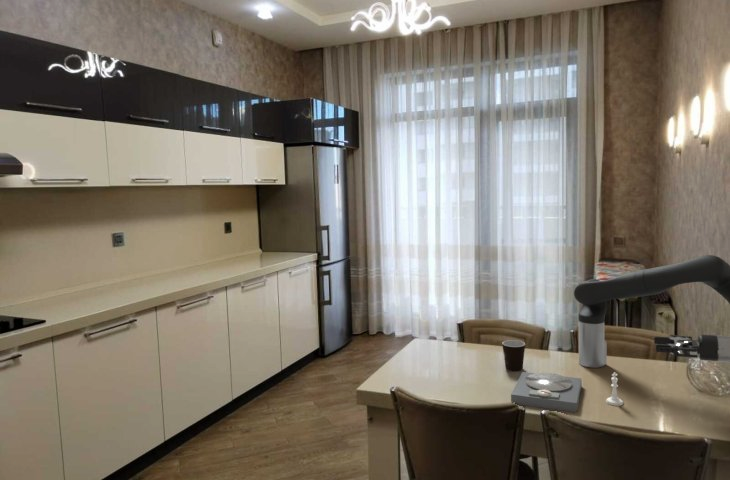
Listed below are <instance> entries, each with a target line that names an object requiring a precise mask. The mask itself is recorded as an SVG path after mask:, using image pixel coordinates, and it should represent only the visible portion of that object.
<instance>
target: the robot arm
mask: <svg viewBox="0 0 730 480" xmlns="http://www.w3.org/2000/svg"><path fill="white" fill-rule="evenodd" d="M690 283H703V284H704V285H706V286H709V287H710V288H712V290H714V291H715V292H717V294H720V296H722V297H723V298H724V300H726V301H727V303H729V305H730V264H729V263H728V262H727V261H725V260H724V259H722V258H721V257H719V256H717V255H713V254H706V255H701V256H698V257H695V258H691V259H688V260H685V261H681V262H678V263H673V264H667V265H661V266H656V267H651V268H645V269H644V268H643V269H640V270H634V271H630V272H628V273H625V274H621V275H618V276H615V277H612V278H609V279H606V280H605V279H604V280H600V279H597V278H591V279H588V280H585V281H582V282H580V283H578V284H577V285H576V286H575V288H574V291H573V297H574V299H575V300H576V301H577V302H578V303H580V305H582V307H581V310H580V311H579V313H578V364H579V365H580V366H583V367H585V368H593V369H594V368H602V367H603V368H604V366H606V365H607V364H608V362H607V352H608V351H607V349H608V348H607V347H608V346H607V342H608V341H607V340H606V339H605V319H606V318H605V316H606V314H607V307H608V301H611V300H616V299H631V298H639V297H649V296H655V295H659V294H662V293H664V292H666V291H668V290H670V289H672V288H673V287H675V286H678V285H683V284H690ZM653 338H654V339H653V343H654V344H655V352H656V353H668V354H669V353H670V354H671V355H673V356H674V357H682V358H683V357H684V358H698V359H699V360H700V361H709V362H721V363H722V362H723V363H730V336H729V335H715V334H698V336H697V340H694V339H693V336H691V335H689V336H688V335H678V334H677V335H674V334H671V335H670V334H669V336H654V337H653Z"/></svg>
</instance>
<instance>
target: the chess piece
mask: <svg viewBox="0 0 730 480" xmlns="http://www.w3.org/2000/svg"><path fill="white" fill-rule="evenodd" d="M611 376H612V377H611V378H610V380H611V382H612V383H611V385H610V386H611V387H612V392H611V396H610V397H607V398H606V400H605V401H606V403H607V405H608V404H609V405H610V406H615V407H616V406H617V407H618V406H619V407H620V406H623V405H624V401H623V400H622V398H619V397H618V389H617V388H618V387H619V385H618V380H619V379H618V378H617V376H618V373H617V372H613V373H612V374H611Z"/></svg>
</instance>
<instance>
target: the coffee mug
mask: <svg viewBox="0 0 730 480" xmlns="http://www.w3.org/2000/svg"><path fill="white" fill-rule="evenodd" d="M501 343H502V344H501V345H502V351H503V352H502V353H503V358H504V359H503V360H504V366H505V367H504V368H505V370H507V371H509V372H521V371H522V370H523V368H524V361H525V360H524V359H525V349H526V343H525V342H524V341H521V340H517V339H516V340H515V339H513V340H512V339H510V340H509V339H507V340H505V341H502V342H501Z"/></svg>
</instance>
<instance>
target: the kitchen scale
mask: <svg viewBox="0 0 730 480" xmlns="http://www.w3.org/2000/svg"><path fill="white" fill-rule="evenodd" d="M582 382H583V381H582V377H581V378H580V377H573V376H564V375H563V374H558V373H552V372H527V371H522V372H521V374H520V376H519V378H518V380H517V382H516V383H515V386H514V387H513V390H512V392H511V393H510V403H511V402H515V403H518V404H517V405H521V406H522V405H523V406H529V407H536V408H542V407H543V408H544V409H551V410H557V411H564V412H573V413H577V412H578V407H579V401H580V398H581V397H580V396H581V392H582V385H583V384H582Z"/></svg>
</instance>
